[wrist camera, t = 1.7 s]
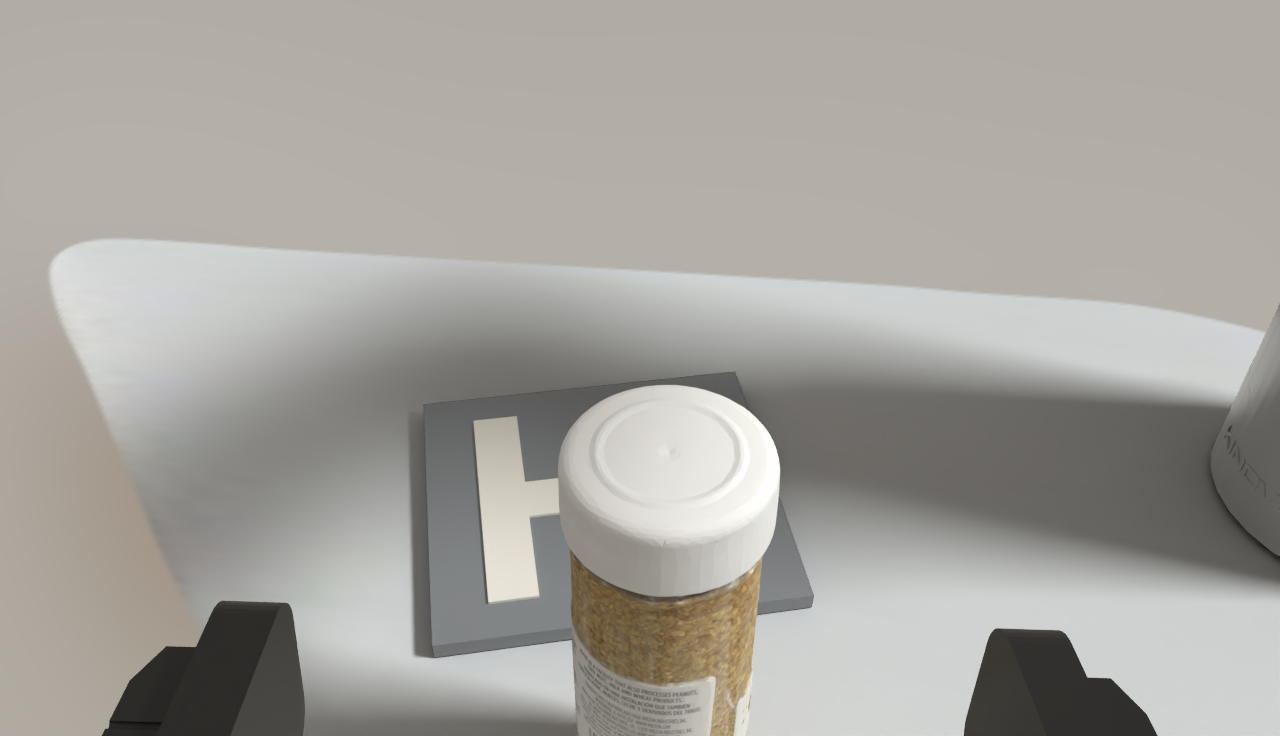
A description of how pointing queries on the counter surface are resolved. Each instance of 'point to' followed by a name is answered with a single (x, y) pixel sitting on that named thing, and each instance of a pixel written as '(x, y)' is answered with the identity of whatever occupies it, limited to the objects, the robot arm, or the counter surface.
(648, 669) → the spice jar
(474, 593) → the letter mat
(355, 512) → the counter surface
